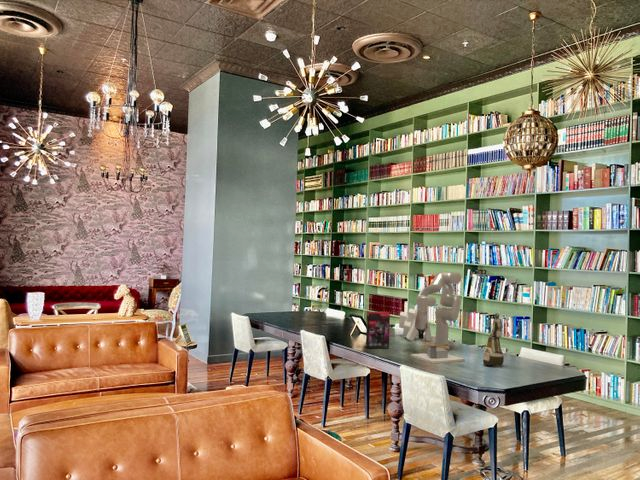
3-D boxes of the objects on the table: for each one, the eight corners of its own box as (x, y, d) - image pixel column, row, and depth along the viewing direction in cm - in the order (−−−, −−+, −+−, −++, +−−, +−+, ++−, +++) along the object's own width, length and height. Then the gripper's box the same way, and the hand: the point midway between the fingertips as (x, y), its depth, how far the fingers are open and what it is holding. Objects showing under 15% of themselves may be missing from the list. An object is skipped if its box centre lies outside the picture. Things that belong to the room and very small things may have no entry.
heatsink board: (441, 354, 367) (441, 340, 367) (464, 361, 346) (465, 346, 346) (410, 356, 354) (410, 342, 354) (432, 363, 333) (433, 348, 333)
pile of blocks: (387, 341, 441) (386, 308, 425) (410, 326, 457) (410, 294, 442) (418, 359, 416) (418, 325, 400) (441, 343, 432) (442, 309, 417)
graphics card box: (367, 348, 375) (369, 312, 376) (364, 346, 382) (366, 311, 383) (389, 348, 379) (390, 312, 379) (386, 347, 386) (387, 311, 386)
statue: (495, 362, 345) (497, 311, 345) (508, 366, 335) (510, 313, 336) (477, 364, 337) (479, 312, 338) (490, 368, 327) (492, 314, 328)
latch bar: (449, 348, 355) (449, 344, 355) (448, 348, 352) (448, 344, 352) (424, 345, 361) (424, 341, 361) (423, 345, 358) (423, 342, 358)
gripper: (411, 312, 371) (410, 337, 370) (424, 314, 358) (423, 340, 357) (419, 312, 375) (418, 336, 374) (432, 314, 361) (431, 340, 361)
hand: (420, 338), depth 366 cm, fingers closed
